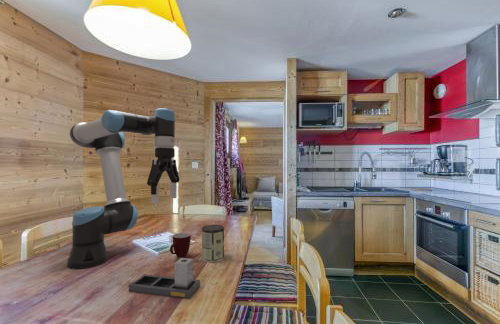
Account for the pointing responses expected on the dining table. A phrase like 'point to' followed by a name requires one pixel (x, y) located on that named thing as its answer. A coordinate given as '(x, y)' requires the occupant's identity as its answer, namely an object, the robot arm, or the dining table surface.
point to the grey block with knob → (184, 273)
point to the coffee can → (212, 243)
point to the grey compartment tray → (162, 286)
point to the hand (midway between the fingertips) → (164, 200)
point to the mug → (181, 244)
